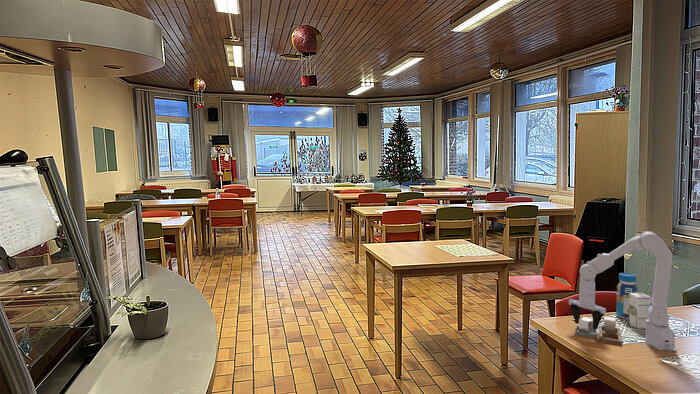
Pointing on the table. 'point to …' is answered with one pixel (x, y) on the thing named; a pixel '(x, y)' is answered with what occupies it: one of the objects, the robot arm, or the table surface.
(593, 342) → the table surface
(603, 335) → the pallet
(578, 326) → the tote
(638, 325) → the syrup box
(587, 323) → the loose billet
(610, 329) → the billet
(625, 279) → the beverage bottle
